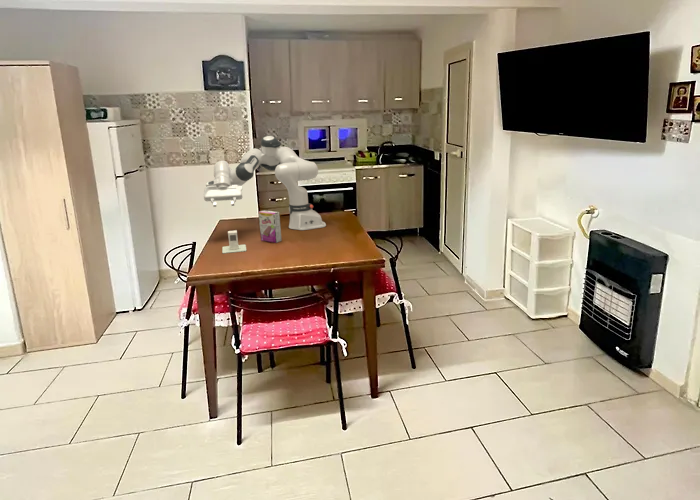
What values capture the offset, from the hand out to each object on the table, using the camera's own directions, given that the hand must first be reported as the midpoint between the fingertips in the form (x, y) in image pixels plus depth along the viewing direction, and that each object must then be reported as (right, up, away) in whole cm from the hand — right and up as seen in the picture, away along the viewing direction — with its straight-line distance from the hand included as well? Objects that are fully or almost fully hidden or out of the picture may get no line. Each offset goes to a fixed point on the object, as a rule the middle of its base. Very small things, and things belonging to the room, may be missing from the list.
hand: (223, 205), depth 261 cm
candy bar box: (+25, -19, +5) cm, 32 cm away
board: (+7, -23, -8) cm, 26 cm away
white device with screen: (+7, -23, -8) cm, 25 cm away
